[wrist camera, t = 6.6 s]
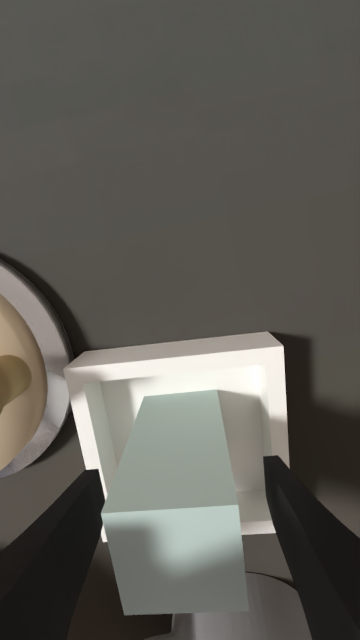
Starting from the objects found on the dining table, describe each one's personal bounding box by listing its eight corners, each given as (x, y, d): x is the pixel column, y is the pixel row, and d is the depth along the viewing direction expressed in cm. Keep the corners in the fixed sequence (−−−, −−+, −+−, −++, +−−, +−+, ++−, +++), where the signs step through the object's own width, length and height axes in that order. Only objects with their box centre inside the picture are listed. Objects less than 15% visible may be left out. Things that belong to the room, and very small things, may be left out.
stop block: (224, 453, 15) (249, 611, 8) (154, 459, 15) (124, 615, 9) (216, 389, 14) (238, 504, 8) (143, 396, 15) (101, 513, 8)
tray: (277, 491, 16) (292, 531, 14) (116, 501, 17) (103, 542, 15) (267, 331, 14) (283, 345, 12) (84, 351, 15) (63, 369, 12)
